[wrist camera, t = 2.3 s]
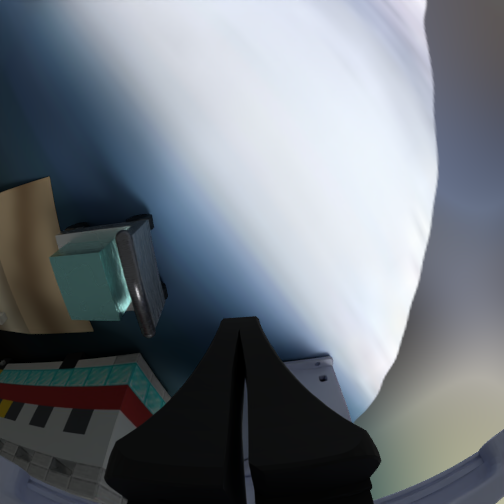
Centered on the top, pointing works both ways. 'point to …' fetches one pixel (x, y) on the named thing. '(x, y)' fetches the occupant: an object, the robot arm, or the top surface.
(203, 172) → the top surface
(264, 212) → the top surface
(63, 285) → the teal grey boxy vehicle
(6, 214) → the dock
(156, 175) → the top surface
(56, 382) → the toy vehicle
